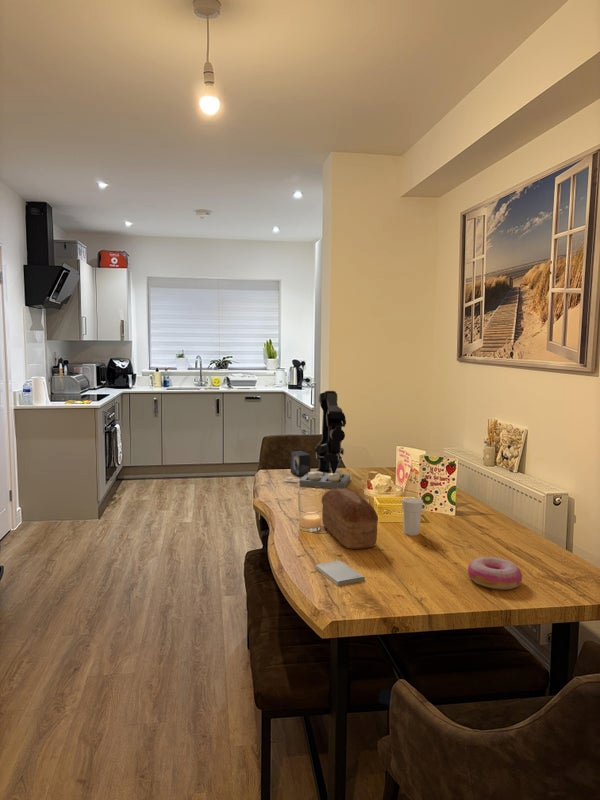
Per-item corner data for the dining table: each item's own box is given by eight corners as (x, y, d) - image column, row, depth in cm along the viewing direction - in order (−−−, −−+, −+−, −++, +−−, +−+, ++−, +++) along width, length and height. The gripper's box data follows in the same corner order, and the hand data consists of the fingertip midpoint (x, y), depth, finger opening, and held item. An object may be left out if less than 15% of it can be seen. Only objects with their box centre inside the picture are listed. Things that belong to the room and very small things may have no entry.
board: (290, 475, 263) (290, 470, 263) (349, 479, 256) (349, 474, 256) (280, 484, 245) (281, 478, 245) (344, 488, 239) (344, 483, 239)
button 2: (313, 477, 258) (313, 471, 258) (323, 478, 257) (323, 471, 257) (311, 479, 253) (311, 473, 253) (321, 480, 252) (321, 474, 252)
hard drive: (365, 576, 143) (340, 559, 154) (337, 581, 140) (315, 564, 151) (364, 582, 143) (340, 565, 154) (337, 588, 140) (314, 570, 151)
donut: (470, 568, 153) (470, 551, 152) (521, 576, 148) (522, 558, 147) (465, 587, 140) (465, 568, 140) (521, 596, 135) (522, 577, 135)
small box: (289, 472, 270) (289, 451, 269) (301, 471, 273) (301, 450, 272) (298, 477, 261) (298, 455, 260) (310, 475, 263) (311, 454, 263)
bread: (350, 522, 193) (351, 482, 191) (382, 550, 166) (383, 503, 164) (317, 524, 189) (318, 483, 188) (344, 553, 162) (345, 506, 161)
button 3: (329, 479, 247) (329, 472, 247) (340, 479, 246) (340, 473, 246) (327, 481, 243) (327, 475, 242) (338, 482, 241) (338, 475, 241)
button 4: (332, 474, 256) (332, 468, 256) (342, 475, 255) (343, 469, 255) (330, 477, 251) (330, 470, 251) (341, 478, 250) (341, 471, 250)
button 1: (309, 477, 249) (309, 471, 249) (320, 478, 248) (320, 472, 248) (307, 480, 245) (307, 473, 244) (318, 481, 243) (318, 474, 243)
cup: (398, 534, 180) (400, 501, 179) (404, 528, 186) (405, 496, 185) (418, 537, 177) (420, 504, 177) (423, 531, 183) (424, 499, 182)
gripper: (320, 434, 254) (319, 467, 255) (312, 440, 235) (311, 476, 237) (344, 435, 251) (343, 469, 253) (338, 442, 233) (337, 478, 234)
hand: (333, 473), depth 244 cm, fingers closed
